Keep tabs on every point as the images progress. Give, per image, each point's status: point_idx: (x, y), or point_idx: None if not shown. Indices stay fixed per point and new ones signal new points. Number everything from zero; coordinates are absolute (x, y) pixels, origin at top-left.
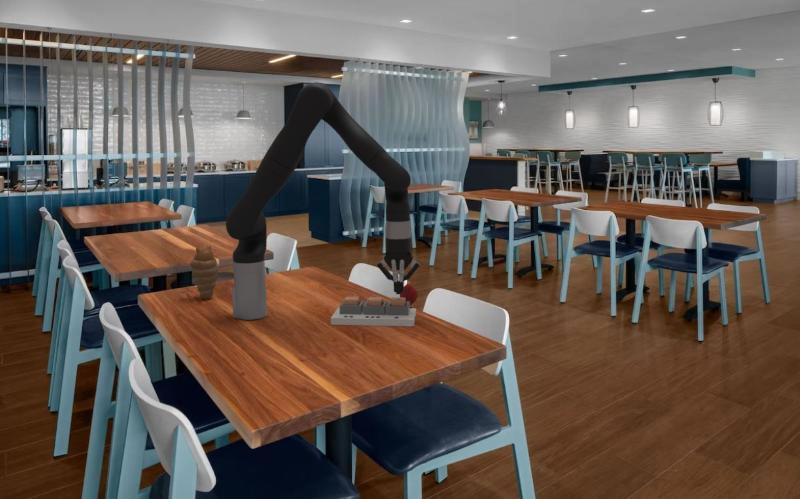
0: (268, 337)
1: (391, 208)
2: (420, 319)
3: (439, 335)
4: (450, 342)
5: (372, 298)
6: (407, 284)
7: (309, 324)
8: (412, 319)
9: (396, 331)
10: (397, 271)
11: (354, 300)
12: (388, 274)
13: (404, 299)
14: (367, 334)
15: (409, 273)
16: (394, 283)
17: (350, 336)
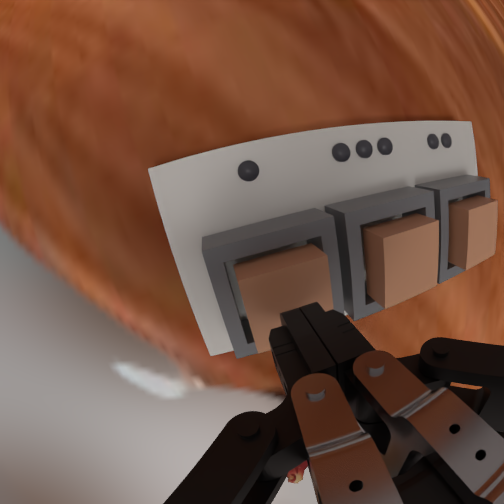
0: (490, 30)
1: None
2: (165, 286)
3: (32, 106)
4: (2, 64)
5: (424, 265)
6: (299, 469)
7: (487, 122)
8: (154, 171)
9: (210, 74)
10: (389, 467)
11: (474, 206)
12: (469, 367)
13: (251, 316)
14: (314, 22)
15: (226, 487)
16: (366, 350)
17: (358, 4)
